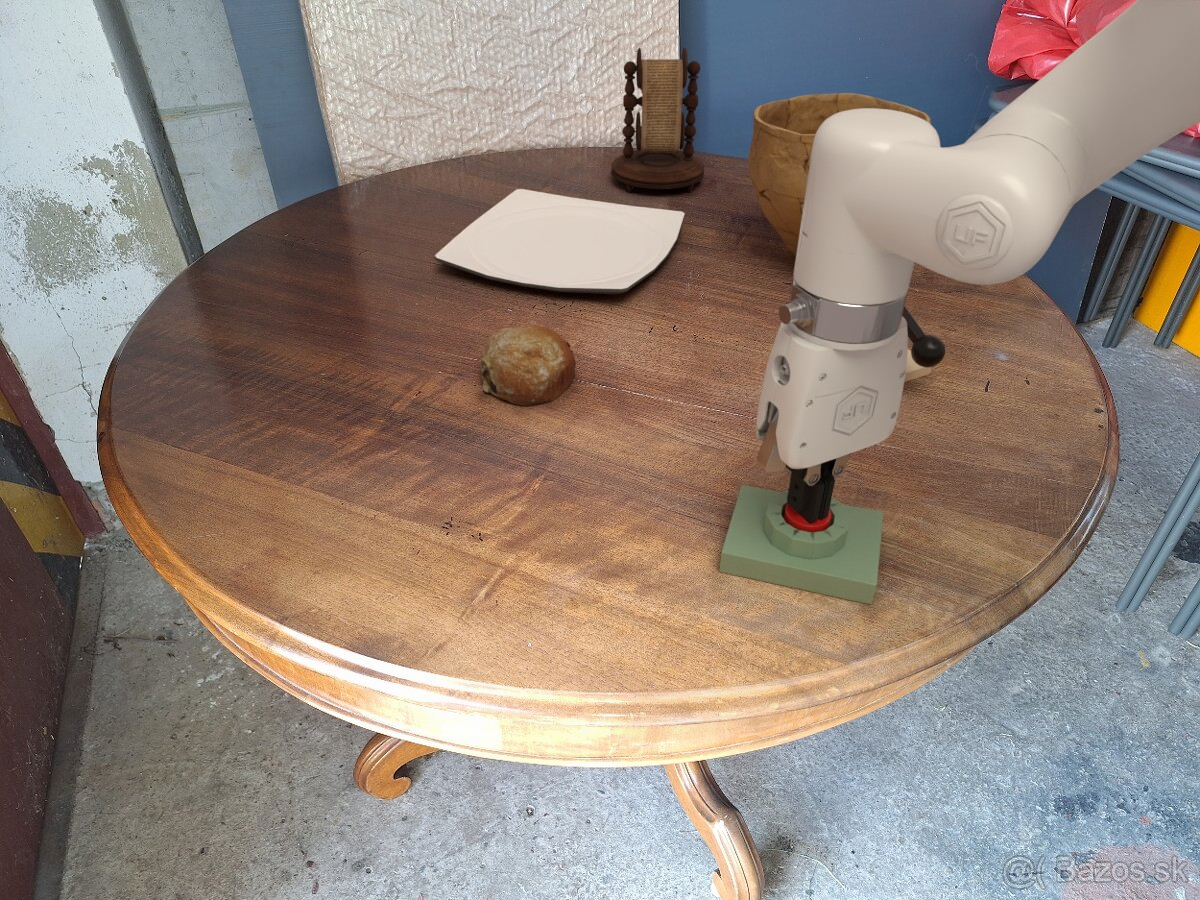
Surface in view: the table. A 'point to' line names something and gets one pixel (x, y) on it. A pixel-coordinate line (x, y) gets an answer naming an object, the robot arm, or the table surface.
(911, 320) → the black ball knob lever
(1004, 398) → the table surface
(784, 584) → the button block
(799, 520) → the button
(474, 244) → the plate
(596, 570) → the table surface
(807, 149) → the bowl
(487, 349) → the bread roll
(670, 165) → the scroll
